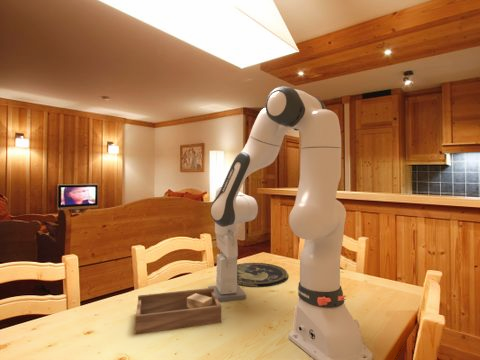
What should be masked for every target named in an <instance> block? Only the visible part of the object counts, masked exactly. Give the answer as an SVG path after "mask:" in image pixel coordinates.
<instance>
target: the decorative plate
mask: <svg viewBox="0 0 480 360" xmlns="http://www.w3.org/2000/svg"><path fill="white" fill-rule="evenodd" d="M288 279H289V273H288V271H287V269H285V268H283V267H281V266H279V265H275V264H271V263H264V262H246V263H245V262H244V263H237V284H238V285H239V286H240V287H247V288H267V287H268V288H269V287H274V286H278V285H281V284H283V283H285V282H286V281H288Z"/></svg>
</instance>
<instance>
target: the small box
mask: <svg viewBox="0 0 480 360" xmlns="http://www.w3.org/2000/svg"><path fill="white" fill-rule="evenodd" d="M237 264H238V257H237V258H235V259H234V260H233V264H232V268H231V269H228V268H227V257H226V256H225V255H224V254H221V253H217V254H216V277H215V278H216V281H215V286H216V287H217V289H218V291H219V292H220V294H231V293H237Z"/></svg>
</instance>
